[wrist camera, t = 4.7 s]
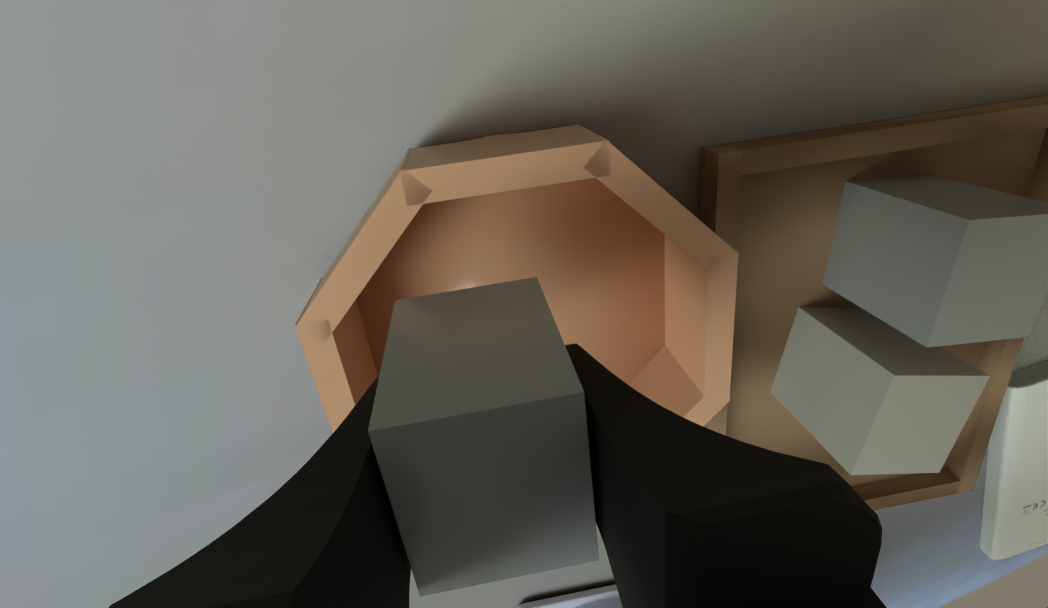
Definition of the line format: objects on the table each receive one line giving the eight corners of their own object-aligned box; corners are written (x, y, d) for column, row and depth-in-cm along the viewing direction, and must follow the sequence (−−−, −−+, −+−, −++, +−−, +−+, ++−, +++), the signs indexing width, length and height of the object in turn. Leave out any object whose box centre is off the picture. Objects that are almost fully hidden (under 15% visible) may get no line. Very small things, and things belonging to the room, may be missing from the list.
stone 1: (552, 407, 15) (598, 560, 10) (428, 430, 15) (419, 596, 10) (536, 276, 13) (584, 391, 9) (394, 300, 13) (367, 431, 8)
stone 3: (843, 391, 23) (939, 472, 19) (770, 391, 23) (850, 475, 18) (876, 309, 22) (990, 375, 17) (798, 307, 21) (894, 375, 16)
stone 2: (904, 277, 21) (1028, 336, 17) (822, 284, 21) (926, 347, 16) (934, 175, 19) (1082, 211, 15) (845, 181, 19) (969, 219, 14)
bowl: (681, 417, 23) (725, 484, 20) (385, 472, 22) (373, 553, 19) (686, 105, 18) (747, 118, 14) (289, 162, 17) (246, 192, 13)
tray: (949, 471, 27) (972, 490, 26) (691, 522, 26) (703, 545, 25) (1064, 93, 19) (1105, 95, 18) (701, 147, 18) (718, 154, 17)
